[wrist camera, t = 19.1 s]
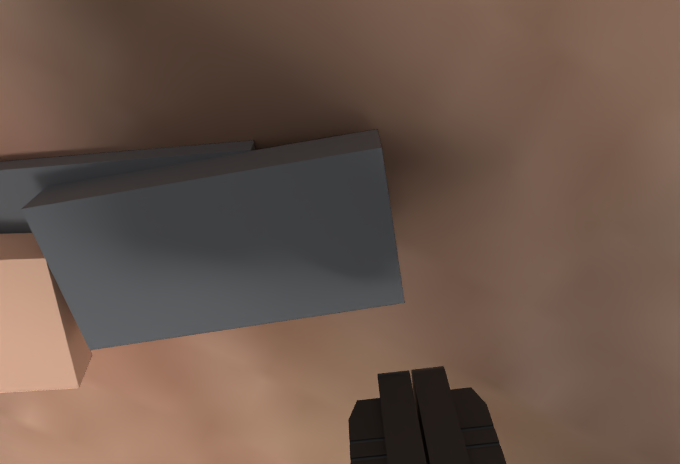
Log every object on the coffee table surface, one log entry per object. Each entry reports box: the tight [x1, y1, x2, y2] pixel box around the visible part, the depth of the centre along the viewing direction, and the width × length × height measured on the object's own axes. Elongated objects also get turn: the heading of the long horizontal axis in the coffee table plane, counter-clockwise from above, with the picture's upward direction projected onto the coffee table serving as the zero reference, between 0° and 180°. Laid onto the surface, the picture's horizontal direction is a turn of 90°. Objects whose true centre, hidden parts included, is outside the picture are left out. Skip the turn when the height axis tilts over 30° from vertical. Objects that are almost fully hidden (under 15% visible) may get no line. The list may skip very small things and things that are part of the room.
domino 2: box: [0, 140, 255, 234], centre depth 18 cm, size 5×2×10 cm
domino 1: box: [21, 129, 405, 350], centre depth 17 cm, size 5×2×10 cm
